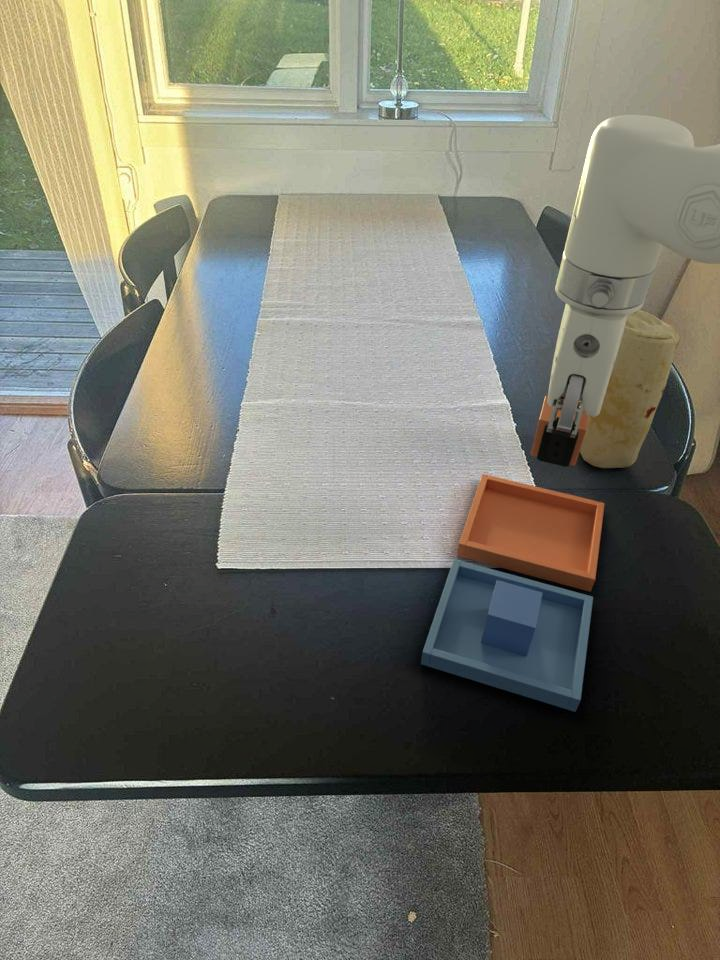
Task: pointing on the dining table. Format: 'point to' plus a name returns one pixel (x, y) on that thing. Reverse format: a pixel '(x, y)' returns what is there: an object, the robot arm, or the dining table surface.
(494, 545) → the terracotta tray
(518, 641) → the blue block
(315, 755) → the dining table surface
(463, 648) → the blue tray
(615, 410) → the food model
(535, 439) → the terracotta block
